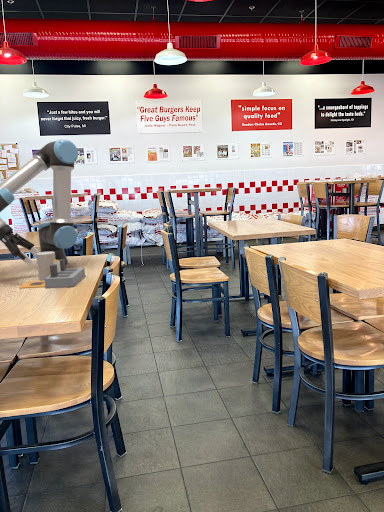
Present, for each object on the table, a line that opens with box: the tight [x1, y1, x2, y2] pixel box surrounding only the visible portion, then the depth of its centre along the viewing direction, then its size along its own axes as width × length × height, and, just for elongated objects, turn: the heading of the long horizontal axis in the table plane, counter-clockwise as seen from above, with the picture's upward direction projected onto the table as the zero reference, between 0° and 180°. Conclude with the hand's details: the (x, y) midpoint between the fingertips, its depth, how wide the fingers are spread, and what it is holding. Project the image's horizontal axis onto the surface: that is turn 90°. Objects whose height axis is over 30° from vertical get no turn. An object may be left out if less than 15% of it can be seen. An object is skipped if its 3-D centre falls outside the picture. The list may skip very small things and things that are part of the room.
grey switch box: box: [43, 259, 86, 289], centre depth 189 cm, size 20×12×9 cm, turn 0°
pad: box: [19, 280, 45, 289], centre depth 187 cm, size 11×11×1 cm
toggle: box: [53, 260, 61, 273], centre depth 189 cm, size 3×2×5 cm, turn 0°
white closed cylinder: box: [35, 251, 56, 281], centre depth 198 cm, size 8×8×12 cm
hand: (36, 260), depth 196 cm, fingers open, 13 cm apart
